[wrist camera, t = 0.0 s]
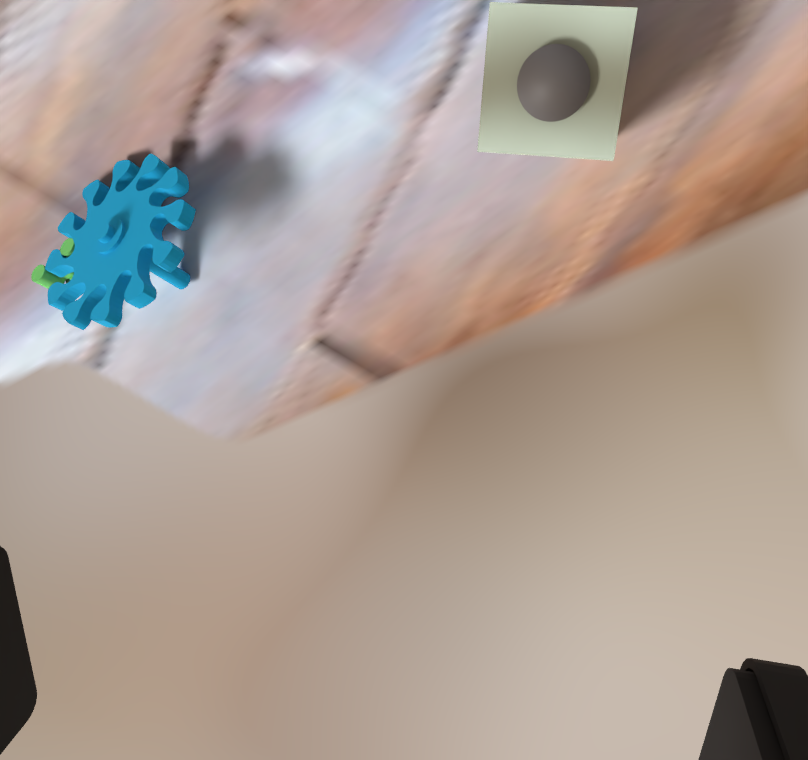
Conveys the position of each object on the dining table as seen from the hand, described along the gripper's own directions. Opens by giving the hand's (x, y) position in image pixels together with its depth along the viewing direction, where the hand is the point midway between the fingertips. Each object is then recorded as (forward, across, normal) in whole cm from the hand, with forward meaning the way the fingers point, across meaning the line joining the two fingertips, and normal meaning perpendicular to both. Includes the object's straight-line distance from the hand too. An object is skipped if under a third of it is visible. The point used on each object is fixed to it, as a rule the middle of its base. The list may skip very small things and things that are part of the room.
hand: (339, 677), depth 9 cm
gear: (+32, +20, +2) cm, 37 cm away
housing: (+31, -2, -7) cm, 32 cm away
